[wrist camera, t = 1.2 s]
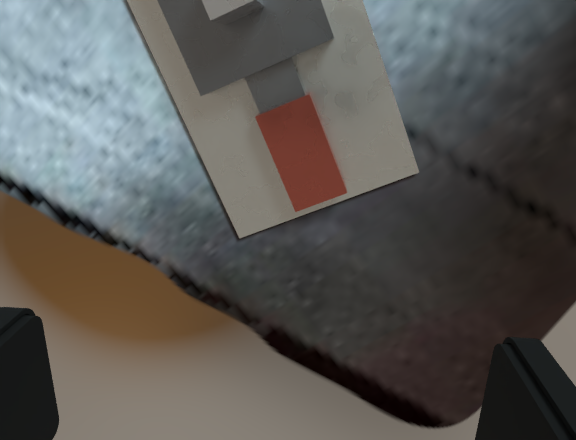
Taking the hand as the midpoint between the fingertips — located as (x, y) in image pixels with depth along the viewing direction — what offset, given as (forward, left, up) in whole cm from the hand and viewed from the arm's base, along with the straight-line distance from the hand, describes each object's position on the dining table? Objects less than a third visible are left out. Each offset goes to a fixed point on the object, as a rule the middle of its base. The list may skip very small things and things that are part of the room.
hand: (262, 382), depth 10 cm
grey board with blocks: (0, -7, -25) cm, 26 cm away
